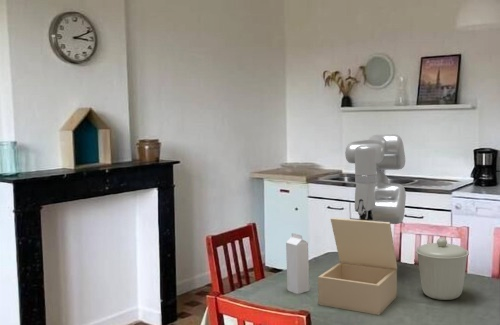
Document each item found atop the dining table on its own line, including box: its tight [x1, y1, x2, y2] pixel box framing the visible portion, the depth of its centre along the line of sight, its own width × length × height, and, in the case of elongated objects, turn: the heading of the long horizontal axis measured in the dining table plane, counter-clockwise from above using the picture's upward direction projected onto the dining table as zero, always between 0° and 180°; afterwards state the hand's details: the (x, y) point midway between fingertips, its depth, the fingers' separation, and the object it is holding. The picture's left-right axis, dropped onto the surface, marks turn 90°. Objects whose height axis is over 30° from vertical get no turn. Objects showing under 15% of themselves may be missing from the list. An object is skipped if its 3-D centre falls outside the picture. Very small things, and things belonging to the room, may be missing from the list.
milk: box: [285, 232, 310, 295], centre depth 208 cm, size 6×6×22 cm
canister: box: [415, 237, 470, 301], centre depth 198 cm, size 18×18×21 cm
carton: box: [317, 261, 398, 316], centre depth 196 cm, size 20×22×10 cm
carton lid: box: [330, 217, 398, 270], centre depth 202 cm, size 20×22×6 cm
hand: (366, 228), depth 202 cm, fingers open, 3 cm apart
